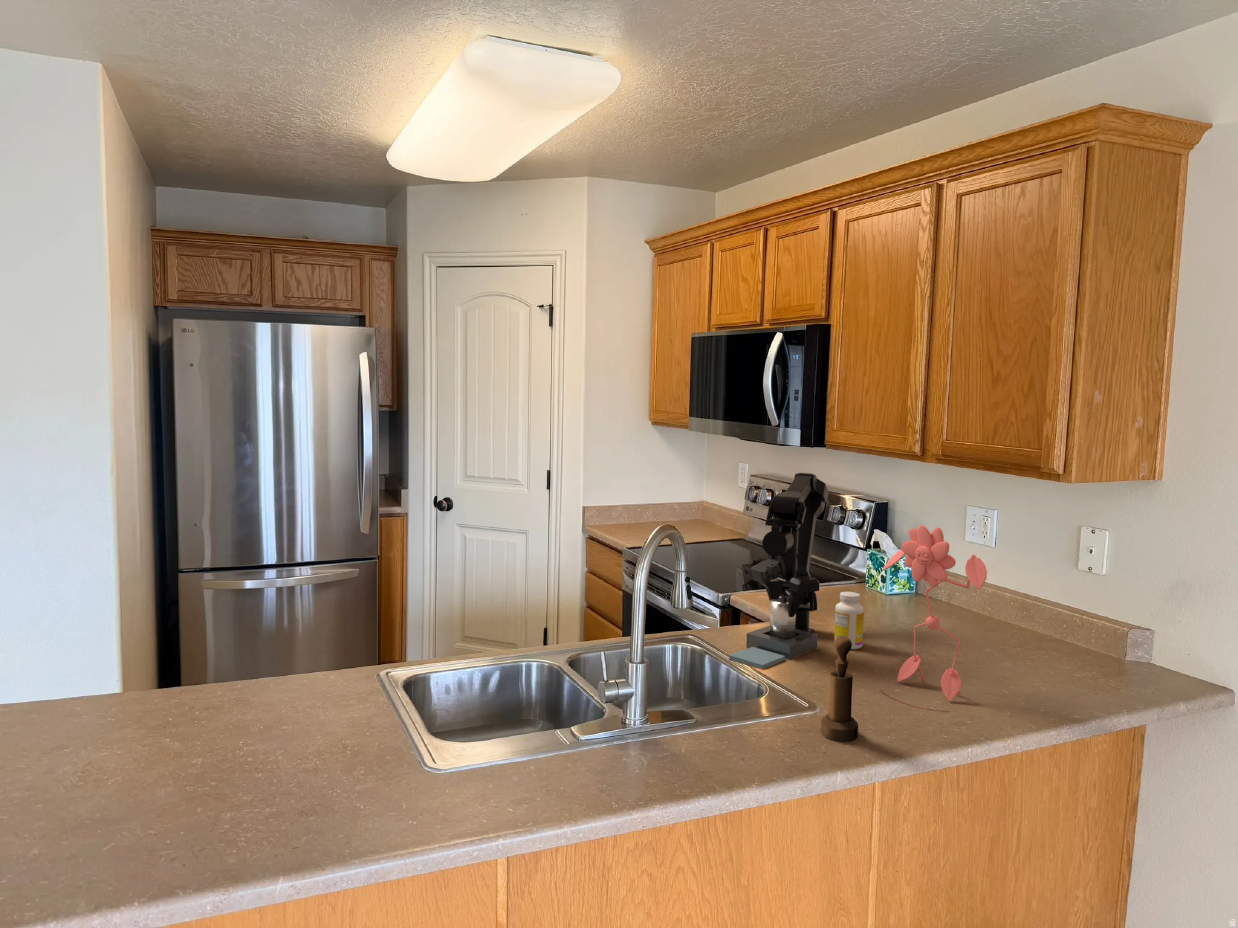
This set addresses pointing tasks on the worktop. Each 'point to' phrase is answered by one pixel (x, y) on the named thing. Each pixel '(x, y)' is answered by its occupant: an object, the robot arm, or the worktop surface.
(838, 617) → the supplement bottle
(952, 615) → the worktop surface
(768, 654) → the mat
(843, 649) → the mortar and pestle
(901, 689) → the worktop surface
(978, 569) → the figurine
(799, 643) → the frame
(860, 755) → the worktop surface
